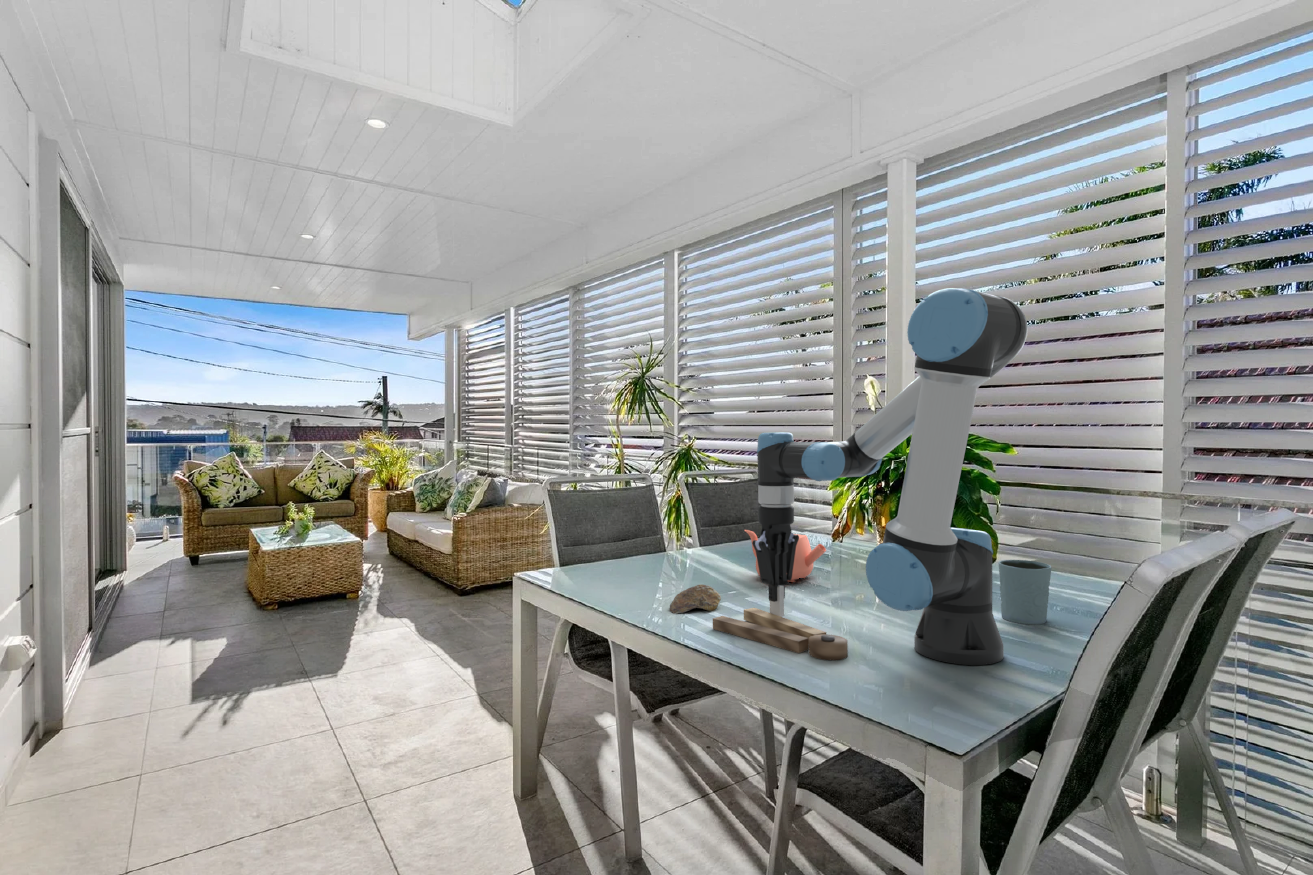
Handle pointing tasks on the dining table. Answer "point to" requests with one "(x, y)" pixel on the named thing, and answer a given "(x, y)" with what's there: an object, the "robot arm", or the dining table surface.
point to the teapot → (798, 556)
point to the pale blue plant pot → (1024, 591)
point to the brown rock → (695, 599)
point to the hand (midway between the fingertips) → (776, 615)
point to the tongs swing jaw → (779, 623)
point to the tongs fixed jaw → (786, 639)
